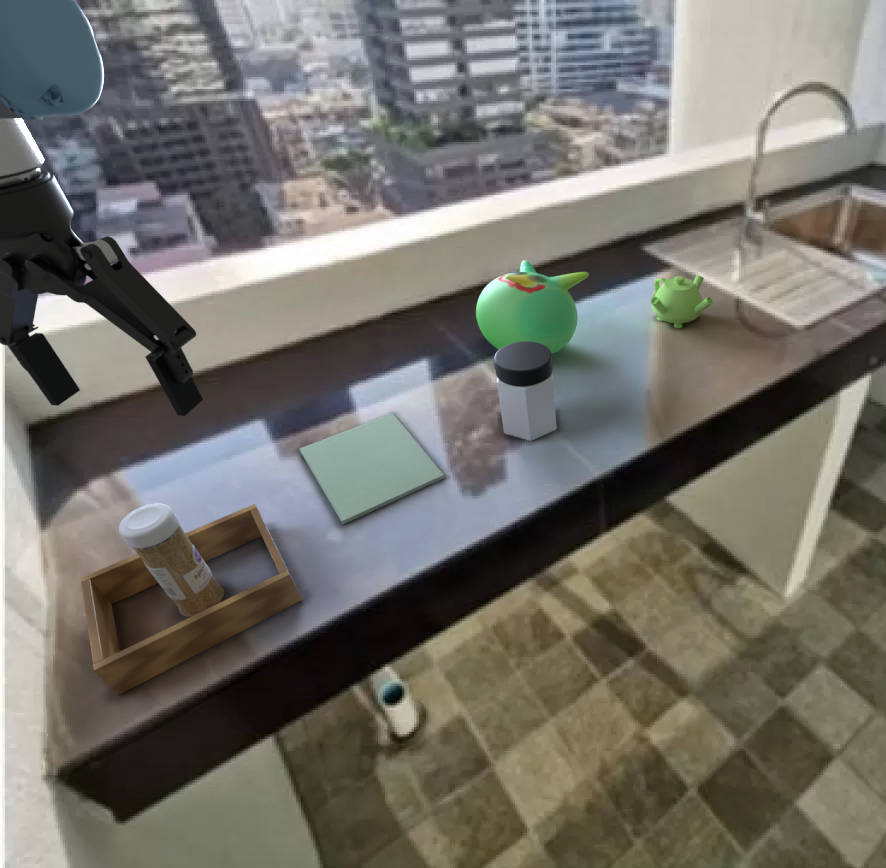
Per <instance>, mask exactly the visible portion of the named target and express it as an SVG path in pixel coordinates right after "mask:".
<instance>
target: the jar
mask: <svg viewBox="0 0 886 868" xmlns="http://www.w3.org/2000/svg"><path fill="white" fill-rule="evenodd" d="M493 361H494V362H493V367H494V370H495V376H496V386H497V393H498V399H499V407H500V414H501V421H502V422H501V423H502V428H503V433H504V434H505V435H506V436H510V437H514V438H519V439H522V440H526V441H528V442H529V441H530V442H532V441H534V440H538V439H539V438H541V437H543V436H545V435H548V434H549V433H552V432H554V431H556V430H557V428H558V426H557V413H556V399H555V398H556V397H555V385H554V373H553V371H554V365H553V362H554V361H553V354H552V353H551V351H550V349H549V348H548V347H546V346H545V345H543V344H540V343H536V342H529V341H523V342H515V343H511V344H508V345H506V346H504V347H502V348H501V349H497V351H496V352H495V354H494V356H493Z"/></svg>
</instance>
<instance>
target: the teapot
mask: <svg viewBox="0 0 886 868" xmlns="http://www.w3.org/2000/svg"><path fill="white" fill-rule="evenodd" d="M703 281H704V277H703V276H701V275H699V274H696V276H695V278H694V280H693V281H692V280H691V279H689V278H685V276H682V275H677V276H674V277H671V278H668V279H666V278H665V277H658V278H656V279H655V281H654V284H653V285H654V293H653V294H652V295H651V296H652V298H651V299H650V303H651V307H652V311H653V313H654V314H655V315H656V316H657V317H656V320H658V321H660V322H663V321H664V322H667V323H670V324H673V327H674V328H676V329H680V328H683V325H684V324H686V323H687V324H688V323H690V322H692V321H695V320H696V319H697V318H698V317H699V316H700V315H701V314H702V312H703V311H704V310H706V309H708V308H709V307H710V306H712V305H713V304H714V299H713V298H712V297H710V296H707V297H705V298H704V299H703V298H702V295H701V293H700V289H701V286H702V285H703ZM660 283H662V284H661V285H660Z"/></svg>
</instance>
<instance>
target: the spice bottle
mask: <svg viewBox="0 0 886 868" xmlns="http://www.w3.org/2000/svg"><path fill="white" fill-rule="evenodd" d="M118 532H119V534H120V536H121V537H122V539H123V541H124V542H125V543H126V545H128V546H129V547H130V548H131V549H133V550H134V551H135V553H136V554H138V555H139V556H140V558H141V559H142V560H143V562H144V564H145V566H146V567H147V568H148V570H149V571H150V572H151V574H152V575H153V576H154V578H155V579H156V580H157V582H158V583H157V584H159V587H161V589H162V590H163V591H164V593H165V594H166V595H167V597H169V598H170V599H171V600H172V601H173V602H174V604H175V605H176V606H177V608H178V609H177V610H178V611H179V613H180V614H181V615H182V616H183V617H185V618H190V617H192V616H194V615H196V614H198V613H200V612H202V611H204V610H206V609H208V608H210V607H212V606H215V605H217V604H219V603H221V602H223V599H224V595H225V589H224V587H223V585H221V584H220V583H219V582H218V581H217V579H216V578H215V576H214V574H213V572H212V571H211V569H210V567H209V566H208V564H207V563H206V562H205V561H204V560H203V558H202V557H201V555H200V554H199V552H198V551H197V549H196V548H195V546H194V545H193V544H192V543H191V542H190V540H189V538H188V537H187V535H186V534H185V533H186V532H185V531H184V529H183V527H182V526H181V525H180V521H179V518H178V516H177V515H176V513H175V512H174V510H173V509H172V507H170V506H169V505H168V504H165V503H159V502H158V503H157V502H156V503H149V504H146V505H143V506H140V507H138V508H135V509H134V510H132V511H131V512H129V513H128V514H127V515H125V516H124V517H123V519H122V520H121V521H120V522H119V526H118Z"/></svg>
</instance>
